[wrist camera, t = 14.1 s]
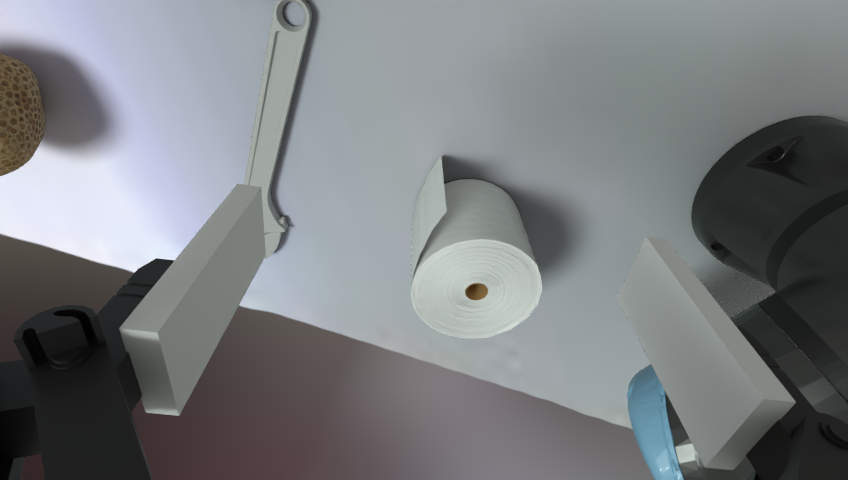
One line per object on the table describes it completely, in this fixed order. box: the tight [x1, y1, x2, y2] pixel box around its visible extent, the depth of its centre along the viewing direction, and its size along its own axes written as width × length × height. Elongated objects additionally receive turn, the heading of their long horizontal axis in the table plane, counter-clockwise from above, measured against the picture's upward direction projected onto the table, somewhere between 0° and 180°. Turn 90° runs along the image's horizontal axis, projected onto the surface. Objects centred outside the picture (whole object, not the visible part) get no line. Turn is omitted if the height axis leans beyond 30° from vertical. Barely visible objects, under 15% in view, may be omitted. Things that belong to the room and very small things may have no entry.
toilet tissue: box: [411, 157, 542, 338], centre depth 40 cm, size 11×12×10 cm
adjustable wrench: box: [244, 0, 312, 258], centre depth 40 cm, size 25×6×2 cm, turn 154°
